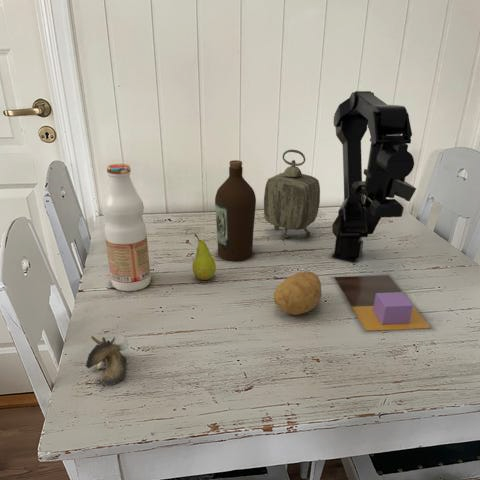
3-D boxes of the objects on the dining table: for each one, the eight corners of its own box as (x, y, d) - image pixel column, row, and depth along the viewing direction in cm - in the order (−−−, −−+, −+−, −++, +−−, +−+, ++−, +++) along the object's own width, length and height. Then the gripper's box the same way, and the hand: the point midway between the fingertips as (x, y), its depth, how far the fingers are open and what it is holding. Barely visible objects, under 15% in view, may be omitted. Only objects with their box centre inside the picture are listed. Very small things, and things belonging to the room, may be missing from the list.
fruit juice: (114, 294, 113) (98, 173, 99) (109, 277, 121) (93, 162, 106) (154, 288, 116) (144, 169, 102) (146, 272, 124) (136, 159, 109)
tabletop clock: (316, 236, 146) (324, 150, 133) (302, 246, 140) (310, 156, 127) (274, 226, 153) (278, 143, 140) (259, 235, 146) (262, 149, 133)
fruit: (220, 278, 121) (220, 233, 115) (203, 286, 118) (202, 240, 111) (204, 271, 125) (203, 227, 118) (187, 279, 121) (185, 233, 115)
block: (372, 310, 109) (375, 292, 106) (398, 309, 109) (402, 292, 107) (382, 324, 103) (385, 306, 101) (409, 323, 104) (413, 305, 102)
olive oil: (245, 244, 140) (246, 155, 127) (260, 258, 132) (264, 164, 119) (210, 250, 137) (208, 158, 124) (224, 265, 128) (223, 168, 115)
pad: (352, 307, 110) (352, 306, 110) (411, 305, 111) (411, 304, 111) (366, 331, 102) (366, 330, 102) (430, 328, 103) (430, 327, 103)
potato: (329, 301, 112) (333, 270, 108) (304, 329, 102) (308, 296, 98) (291, 291, 116) (293, 260, 112) (263, 317, 106) (265, 284, 102)
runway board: (334, 277, 123) (334, 277, 123) (388, 276, 124) (388, 275, 124) (352, 307, 110) (352, 306, 110) (411, 305, 111) (411, 304, 111)
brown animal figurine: (81, 353, 91) (76, 375, 83) (98, 322, 90) (95, 340, 82) (118, 370, 94) (117, 392, 86) (136, 339, 92) (136, 359, 84)
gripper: (433, 178, 101) (418, 248, 109) (399, 157, 117) (388, 219, 125) (381, 178, 100) (370, 249, 108) (354, 157, 116) (346, 220, 124)
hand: (369, 233), depth 116 cm, fingers closed
